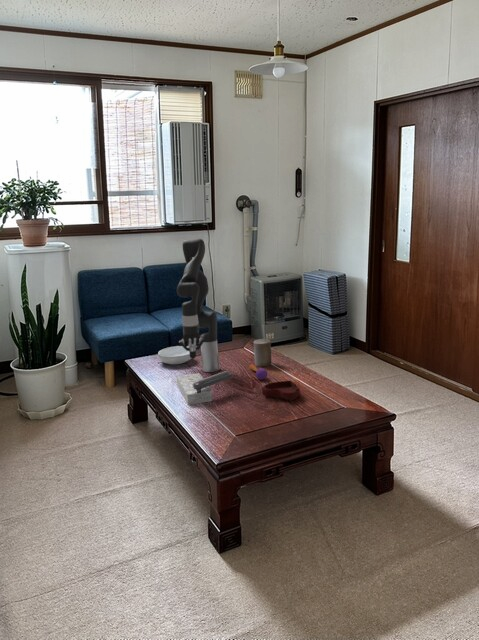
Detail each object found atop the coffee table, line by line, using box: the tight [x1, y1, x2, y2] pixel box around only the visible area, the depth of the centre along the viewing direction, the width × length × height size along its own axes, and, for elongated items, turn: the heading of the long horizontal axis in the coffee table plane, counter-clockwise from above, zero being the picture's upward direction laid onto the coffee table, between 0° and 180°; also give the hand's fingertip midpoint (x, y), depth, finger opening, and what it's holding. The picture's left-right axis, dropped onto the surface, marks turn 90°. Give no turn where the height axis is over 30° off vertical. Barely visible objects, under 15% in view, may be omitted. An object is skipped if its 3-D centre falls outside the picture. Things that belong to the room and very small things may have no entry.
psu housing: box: [176, 372, 214, 406], centre depth 277 cm, size 12×28×7 cm, turn 17°
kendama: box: [249, 363, 268, 381], centre depth 299 cm, size 6×6×20 cm
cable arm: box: [193, 370, 234, 389], centre depth 271 cm, size 5×22×3 cm, turn 134°
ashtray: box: [261, 380, 300, 402], centre depth 270 cm, size 18×16×5 cm
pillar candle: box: [253, 338, 273, 368], centre depth 315 cm, size 10×10×15 cm
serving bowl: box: [157, 345, 193, 365], centre depth 327 cm, size 21×21×7 cm
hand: (192, 358), depth 271 cm, fingers closed
